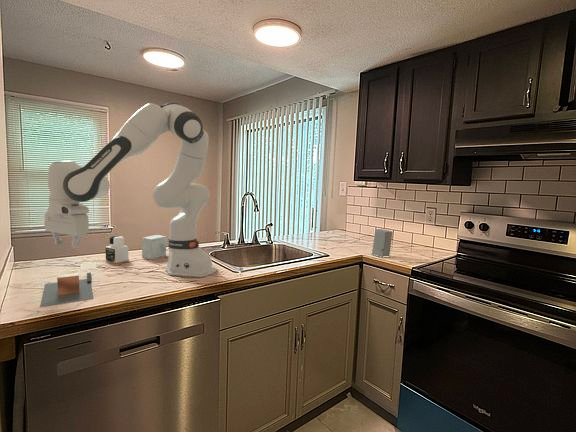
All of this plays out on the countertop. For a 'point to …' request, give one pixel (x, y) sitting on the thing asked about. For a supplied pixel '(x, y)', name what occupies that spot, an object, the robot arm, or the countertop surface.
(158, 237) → the skincare box
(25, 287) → the countertop surface
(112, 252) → the medicine bottle
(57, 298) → the rubber mat
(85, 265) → the spatula
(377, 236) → the skincare box
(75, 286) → the birch cube
